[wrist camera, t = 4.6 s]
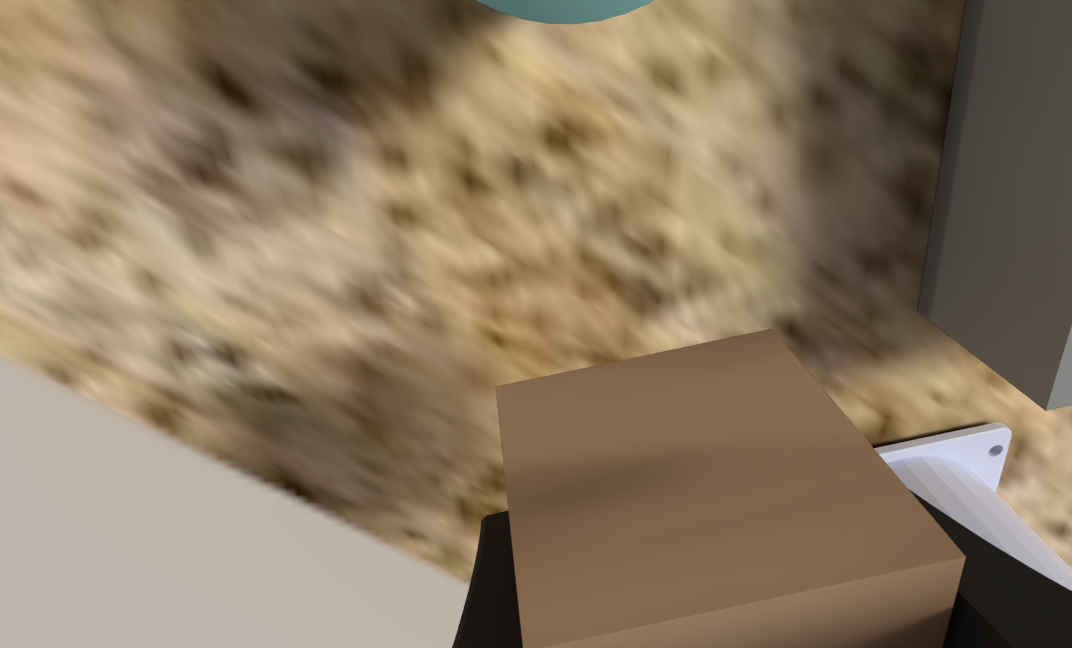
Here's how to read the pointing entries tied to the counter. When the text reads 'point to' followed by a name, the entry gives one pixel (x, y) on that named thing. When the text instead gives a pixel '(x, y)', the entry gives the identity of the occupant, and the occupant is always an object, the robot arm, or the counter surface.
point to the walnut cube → (712, 510)
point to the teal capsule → (564, 9)
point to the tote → (1008, 198)
